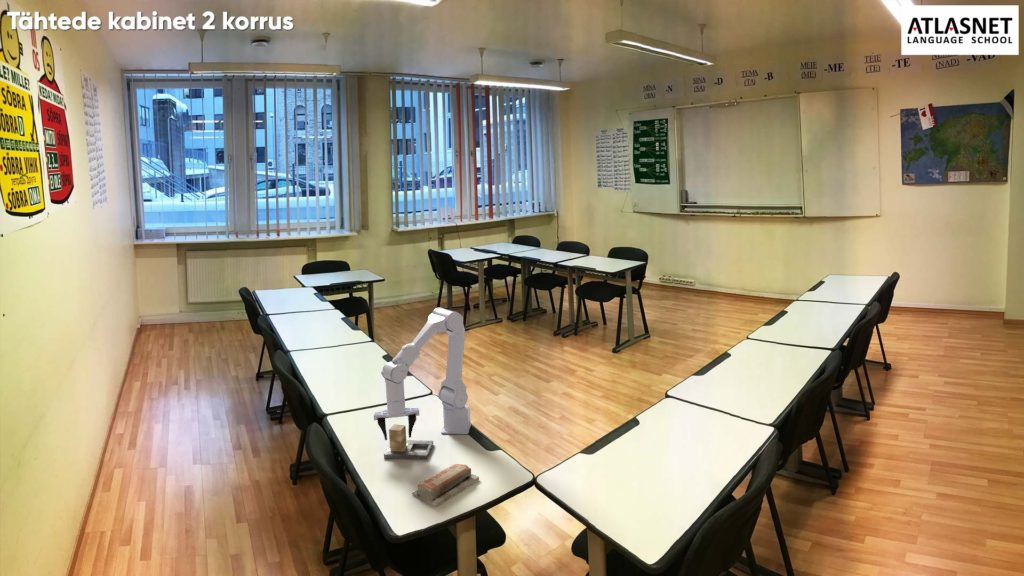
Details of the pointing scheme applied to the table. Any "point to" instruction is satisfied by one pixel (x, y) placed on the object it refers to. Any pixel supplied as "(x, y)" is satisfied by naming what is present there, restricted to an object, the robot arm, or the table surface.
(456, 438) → the table surface
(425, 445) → the plate
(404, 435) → the peg
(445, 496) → the packaged product
